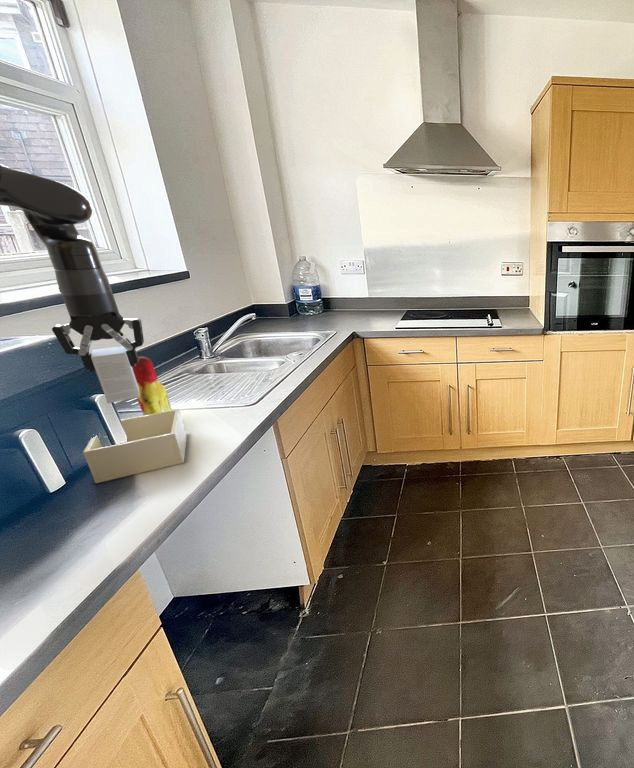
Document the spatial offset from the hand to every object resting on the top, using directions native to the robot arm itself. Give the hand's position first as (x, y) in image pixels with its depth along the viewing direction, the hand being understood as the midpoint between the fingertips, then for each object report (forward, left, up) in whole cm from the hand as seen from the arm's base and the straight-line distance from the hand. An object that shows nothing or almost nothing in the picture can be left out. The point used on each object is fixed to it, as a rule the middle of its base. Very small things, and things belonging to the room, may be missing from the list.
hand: (114, 368), depth 92 cm
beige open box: (0, +3, -24) cm, 24 cm away
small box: (0, 0, -7) cm, 7 cm away
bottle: (+1, +26, -24) cm, 36 cm away
